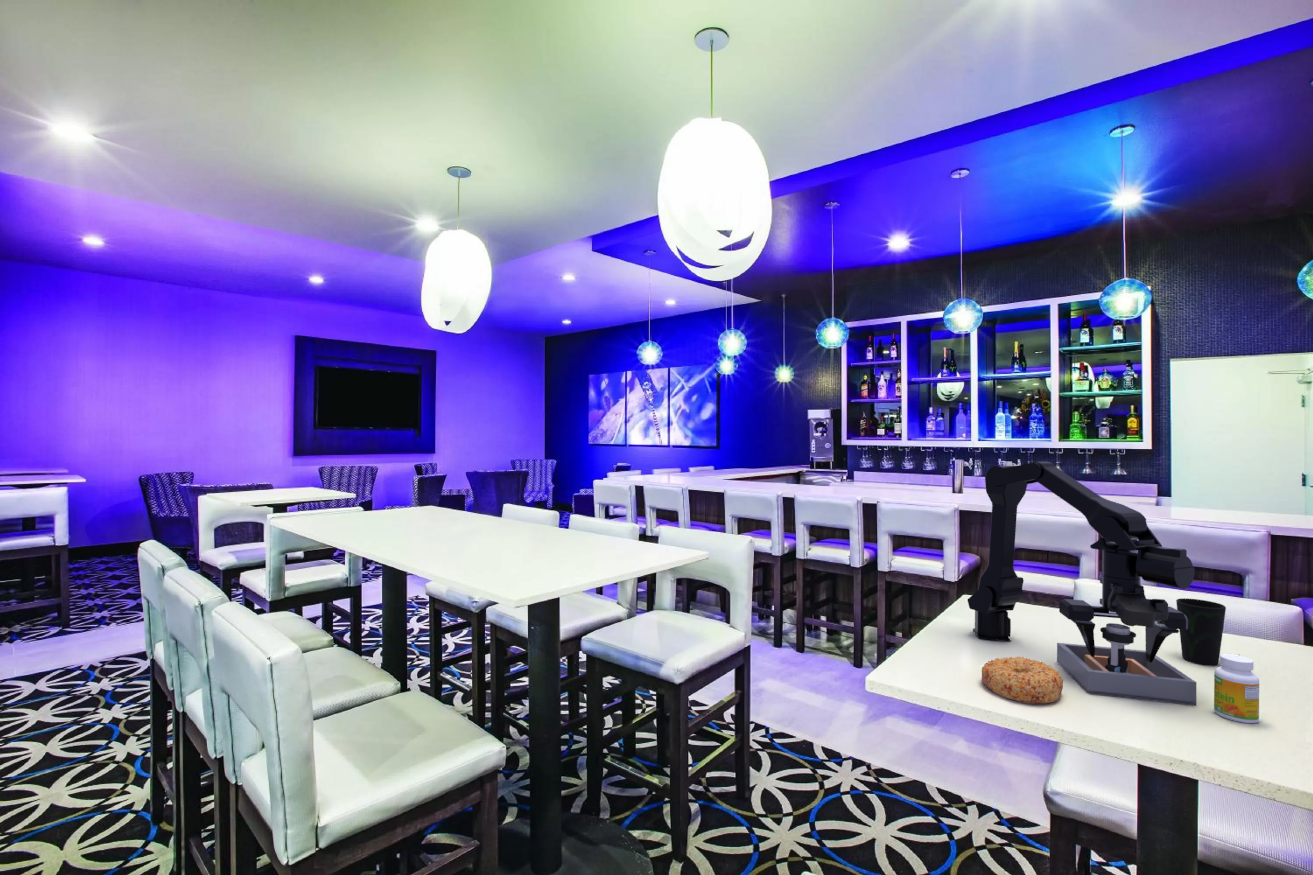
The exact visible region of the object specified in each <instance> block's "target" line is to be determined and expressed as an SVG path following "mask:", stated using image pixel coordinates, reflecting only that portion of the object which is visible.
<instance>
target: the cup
mask: <svg viewBox="0 0 1313 875" xmlns="http://www.w3.org/2000/svg"><path fill="white" fill-rule="evenodd" d="M1175 602H1176V610H1178V611H1180V612H1182V613H1184V614H1185V615H1186V616H1187V619H1188V629H1187V630H1184V629H1178V630H1179V638H1180V647H1181V655H1182V660H1185V661H1187V662H1189V663H1190V664H1191V663H1192V664H1196V665H1201V666H1206V667H1207V666H1208V667H1218V666H1219V664H1220V655H1221V650H1222V648H1221V647H1222V640H1223V632H1224V624H1225V618H1226V610H1227V607H1226V606H1225V605H1224V604H1221V603H1218V602H1214V601H1210V600H1204V599H1197V598H1183V597H1182V598H1177V599H1176V600H1175Z"/></svg>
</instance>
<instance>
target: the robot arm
mask: <svg viewBox="0 0 1313 875" xmlns="http://www.w3.org/2000/svg"><path fill="white" fill-rule="evenodd" d="M984 482H985V492H986V494H987V496H988V498H989V500H990V503H991V518H990V533H989V534H990V536H989V550H988V551H989V552H988V564H987V567H986V568H985V570H984V571H983V573H982V574H981V576H980V579H979V583H978V588H977V591H976V592H974V593H973V594H972V595H971V596H969V597H968V598H967V603H968V607H969V609H970V610H973V611H974V627H973V628H972V631H973V633H974V635H975V636H976V638H978V639H979V640H980V639H981V640H991V641H1003V642H1011V638H1010V637H1011V634H1012V633H1011V632H1012V631H1011V630H1012V629H1011V628H1012V626H1011V625H1012V623H1011V618H1010V617H1009V612H1008V611H1014V609H1015V606H1016V603H1018V602H1019V601H1020V600H1021V597H1022V596H1024V592H1023V586H1024V585H1023V584H1024V581H1025V580H1024V578H1023V576H1022V577H1021V576H1018V575H1017V573H1016V571H1015V569H1014V563H1015V562H1014V560H1015V544H1016V532H1017V517H1018V505H1019V504H1020V503H1021V501H1022V499H1023V498H1024V496H1025V495H1026V491H1027V487H1028V485H1031V484H1036V483H1038V484H1040V485H1041V486H1042V487H1044V488H1046V489H1047V490H1048V491H1050V492H1051V493H1052V494H1054V495H1056V497H1058V498H1060V499H1061V500H1062V501H1064V502H1065V503H1067V504H1068V505H1070V506H1071V507H1072V508H1074V509H1076V510H1077V511H1078V512H1080V513H1081V514H1082V515H1083V516H1084V517H1085V519H1086V521H1087V523H1088V525H1089V526H1090V527H1091V528H1092V529H1093V530H1094V531H1095V532H1096V533H1097V534H1098V535H1100V537H1099V539H1098V540H1097V541H1095V542H1094V543H1091V544H1090V545H1089V547H1090V549H1093V550H1098V551H1102V566H1101V567H1102V570H1101V571H1102V575H1101V577H1099V583H1100V584H1101V585H1102V586H1101V588H1102V590H1101V598H1099V604H1100V605H1101V606H1099V605H1098V606H1097V605H1096V606H1095V605H1091V604H1089V603H1088V602H1086V601H1085V600H1082V599H1072V598H1063V599H1061V600H1060V602H1059V605H1058V606H1059V607H1058V608H1059V609H1058V610H1059V613H1060V615H1062V616H1064V618H1066V619H1068V620H1070V621H1072V623H1074V624H1075V625H1076V628H1077V629H1078V632H1080V635H1081V637H1082V639H1083V642H1084V645H1086V647H1087V649H1088V652H1089V654H1090V656H1091V657H1094V655H1095V646H1096V645H1095V634H1094V630H1095V627H1096V623H1095V622H1093V621H1092V620H1093V619H1094V618H1095V617H1098V618H1099V617H1100V618H1112V619H1120V622H1121V623H1122V625H1125V626H1128V627H1135V626H1136V627H1145V651H1146V657H1147V661H1148V662H1150V663H1152V662H1153V660H1154V658H1155V656H1157V654H1158V652H1159V650H1160V647H1161V646H1162V644H1163V643H1164V641H1165V640H1166V638H1168V637H1169V636H1171V635H1172V634H1178V633H1180V630H1179V629H1184V630H1187V629H1188V619H1187V616H1186V615H1185V614H1184V613H1182V612H1180V611H1178V610H1177V608H1174V607H1172V606H1169V603H1168V602H1167V601H1166V600H1165V599H1160V598H1147V597H1146V594H1145V589H1144V588H1145V587H1144V586H1143V585H1142V584H1141V581H1142V580H1143V581H1144V582H1147V583H1153V584H1156V585H1162V586H1167V587H1171V588H1177V589H1183V590H1186V589H1188V588H1189V587H1190V586H1191V585H1192V584H1193V582H1194V579H1195V578H1194V577H1195V572H1196V571H1195V570H1196V569H1195V567H1194V566H1193V565H1194V564H1193V563H1192V560H1191V558H1189V557H1188V556H1187V553H1188V552H1187V550H1186V549H1185V548H1180V547H1179V548H1178V547H1175V548H1172V547H1167V546H1166V547H1165V546H1163V545H1162V544H1161V541H1160V540H1158V538H1157V537H1156V535H1155V534H1154V533H1153V532H1152V530H1151V529H1150V527H1149V526H1148V524H1147V518H1146V517H1145V516H1144V515H1143V513H1142V512H1139V511H1138V510H1135V509H1133V508H1131V507H1129V506H1127V505H1124V504H1123V503H1119V502H1116V501H1112V500H1110V499H1108V498H1104V497H1102V496H1101V495H1099V494H1098V493H1096V492H1095V491H1093V490H1092V489H1090V488H1088V487H1087V486H1085V485H1084V484H1082V483H1081V482H1079V481H1078V480H1076V479H1075V478H1073V477H1072V476H1071V475H1069V474H1067V473H1066V472H1064V471H1063V470H1061V469H1060V468H1058V467H1057V466H1056V465H1055V464H1054V463H1052V462H1050V461H1031V462H1029V463H1026V464H1025V463H1024V464H1020V465H993V466H991V467H990V468H989V469H988V470H986V472H985V475H984ZM1141 579H1142V580H1141Z"/></svg>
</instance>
